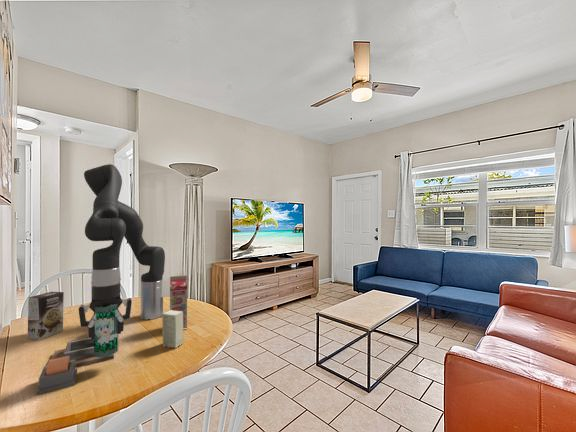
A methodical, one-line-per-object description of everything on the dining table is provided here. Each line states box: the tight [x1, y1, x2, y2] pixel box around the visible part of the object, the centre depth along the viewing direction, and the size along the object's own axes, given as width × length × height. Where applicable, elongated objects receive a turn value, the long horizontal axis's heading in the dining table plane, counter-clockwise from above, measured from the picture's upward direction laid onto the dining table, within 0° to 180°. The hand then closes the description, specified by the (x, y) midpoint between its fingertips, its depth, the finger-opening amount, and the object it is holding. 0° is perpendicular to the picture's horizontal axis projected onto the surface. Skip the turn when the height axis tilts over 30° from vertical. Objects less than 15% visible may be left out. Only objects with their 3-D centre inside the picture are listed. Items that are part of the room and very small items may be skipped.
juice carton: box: [169, 275, 188, 328], centre depth 118 cm, size 7×7×22 cm
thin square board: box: [50, 337, 115, 369], centre depth 93 cm, size 17×14×4 cm
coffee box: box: [26, 291, 65, 341], centre depth 110 cm, size 9×6×16 cm
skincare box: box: [161, 309, 185, 348], centre depth 102 cm, size 6×4×12 cm
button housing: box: [36, 359, 78, 395], centre depth 78 cm, size 8×8×4 cm
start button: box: [46, 356, 70, 375], centre depth 79 cm, size 5×5×3 cm
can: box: [93, 304, 119, 357], centre depth 86 cm, size 6×6×15 cm
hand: (106, 335), depth 86 cm, fingers closed on can, 6 cm apart
